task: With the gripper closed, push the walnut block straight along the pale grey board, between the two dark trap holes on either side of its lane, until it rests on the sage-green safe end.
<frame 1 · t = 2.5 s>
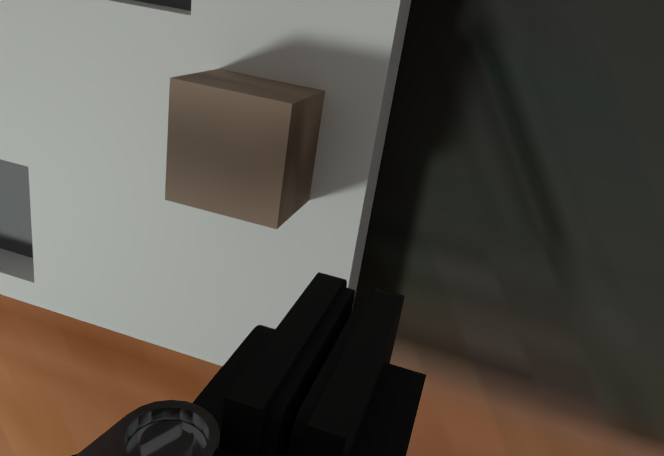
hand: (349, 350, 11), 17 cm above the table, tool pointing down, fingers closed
trap board: (107, 86, 31), on the table
walnut block: (264, 135, 26), point 2 cm above the table, touching trap board
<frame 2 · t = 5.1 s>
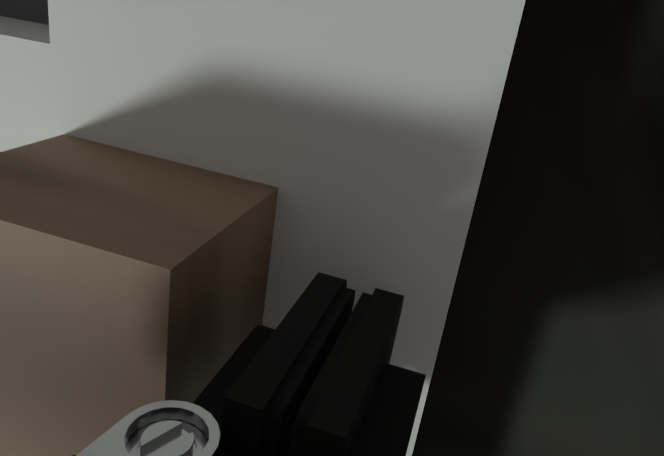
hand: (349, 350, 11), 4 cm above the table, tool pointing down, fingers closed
walnut block: (162, 266, 13), point 3 cm above the table, touching gripper
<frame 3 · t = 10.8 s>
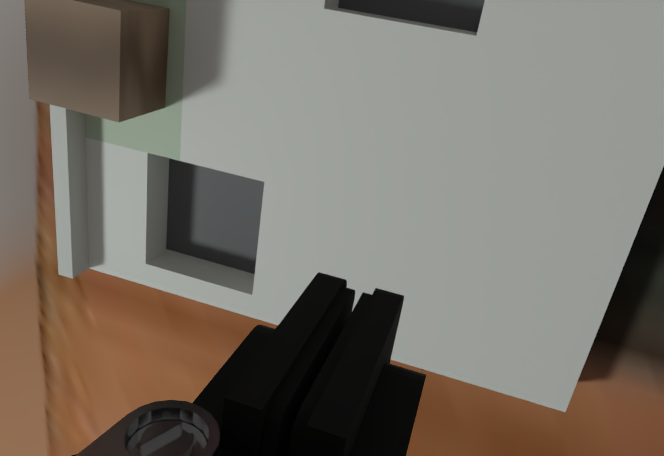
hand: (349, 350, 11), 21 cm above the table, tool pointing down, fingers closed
trap board: (344, 101, 31), on the table
walnut block: (124, 50, 30), point 2 cm above the table, touching trap board
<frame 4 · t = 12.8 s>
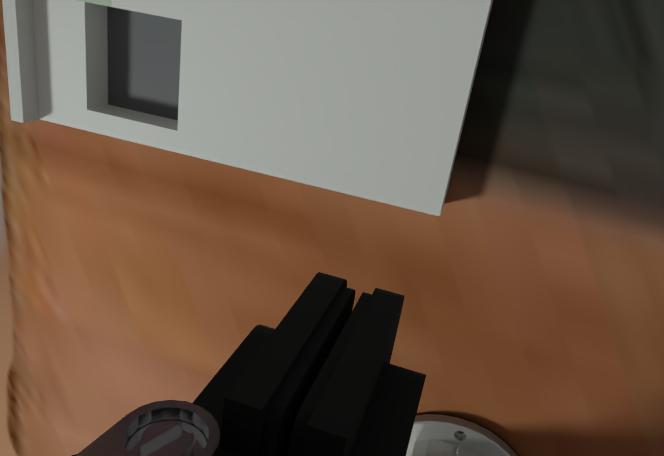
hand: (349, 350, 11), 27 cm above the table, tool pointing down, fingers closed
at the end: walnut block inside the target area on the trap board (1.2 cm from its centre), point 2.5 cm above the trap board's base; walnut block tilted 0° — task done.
